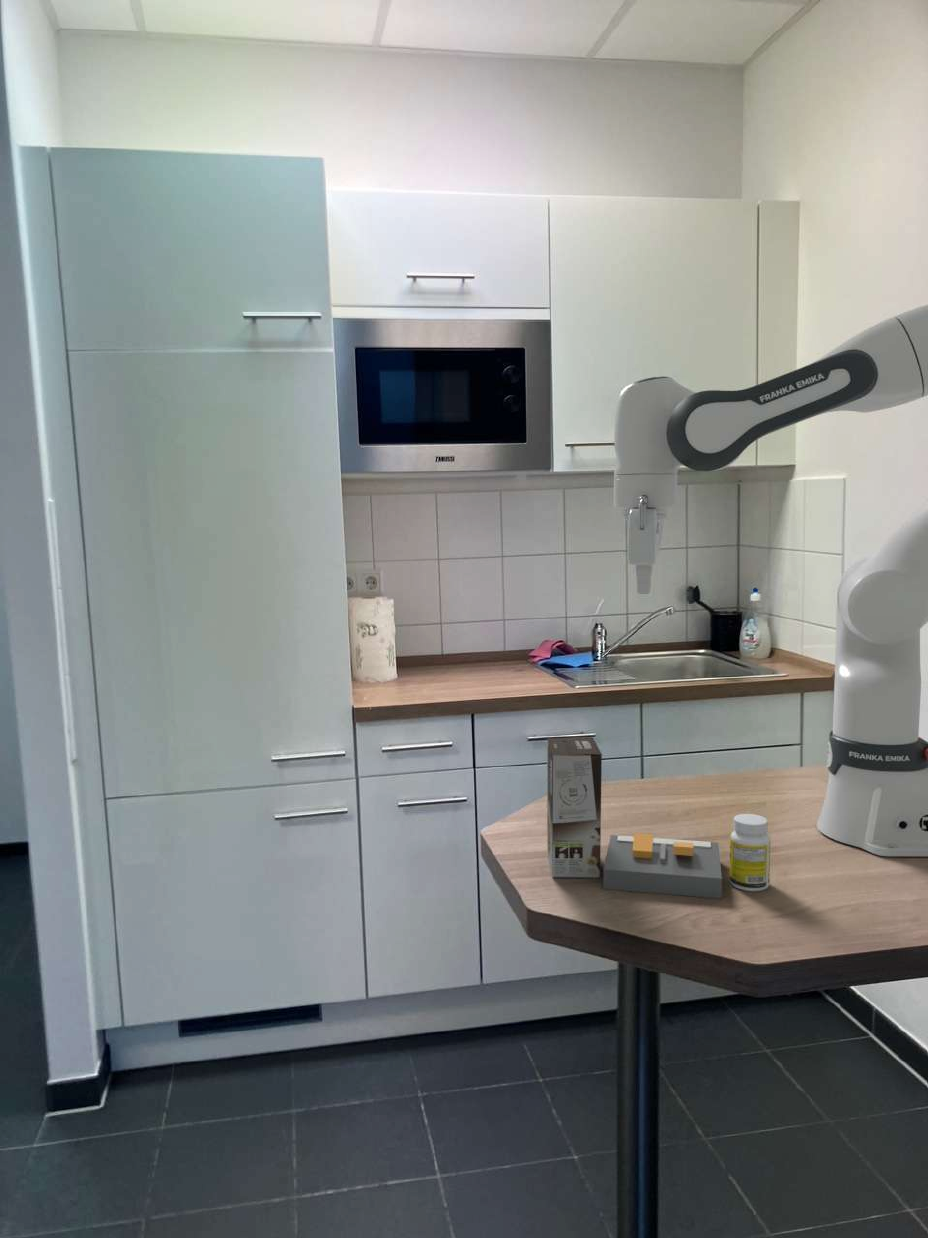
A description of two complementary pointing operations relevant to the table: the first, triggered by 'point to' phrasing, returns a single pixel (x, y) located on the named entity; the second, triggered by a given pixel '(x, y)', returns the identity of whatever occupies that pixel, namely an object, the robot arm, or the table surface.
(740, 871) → the supplement bottle
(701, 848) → the switch strip
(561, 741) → the coffee box
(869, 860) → the table surface
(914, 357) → the robot arm
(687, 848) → the orange rectangular block
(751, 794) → the table surface
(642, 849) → the paddle
